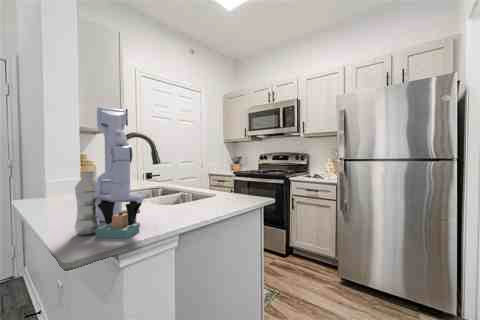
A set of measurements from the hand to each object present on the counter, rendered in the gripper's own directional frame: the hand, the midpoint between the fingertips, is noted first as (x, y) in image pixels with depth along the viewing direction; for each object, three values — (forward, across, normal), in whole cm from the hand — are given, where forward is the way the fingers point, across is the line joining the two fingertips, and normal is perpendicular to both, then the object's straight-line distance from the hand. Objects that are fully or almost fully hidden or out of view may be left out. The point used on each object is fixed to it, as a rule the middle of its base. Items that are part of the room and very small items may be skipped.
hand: (120, 224), depth 72 cm
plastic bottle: (+3, -10, -2) cm, 11 cm away
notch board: (+3, 0, -1) cm, 3 cm away
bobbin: (+3, 0, +6) cm, 7 cm away
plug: (+3, 0, 0) cm, 3 cm away
